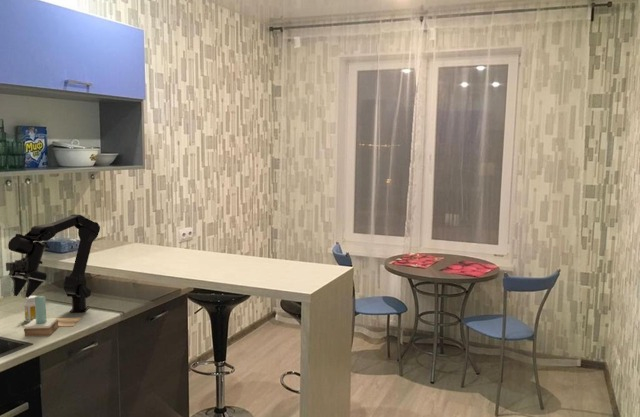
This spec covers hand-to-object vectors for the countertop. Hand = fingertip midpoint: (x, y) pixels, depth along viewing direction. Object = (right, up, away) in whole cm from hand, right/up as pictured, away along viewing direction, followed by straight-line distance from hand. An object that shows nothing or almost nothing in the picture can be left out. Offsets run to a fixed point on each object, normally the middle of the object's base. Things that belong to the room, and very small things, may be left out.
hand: (21, 296), depth 206 cm
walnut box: (+7, -14, +1) cm, 16 cm away
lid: (+7, -11, +1) cm, 13 cm away
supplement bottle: (-3, -12, +15) cm, 20 cm away
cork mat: (+11, -13, +12) cm, 20 cm away
